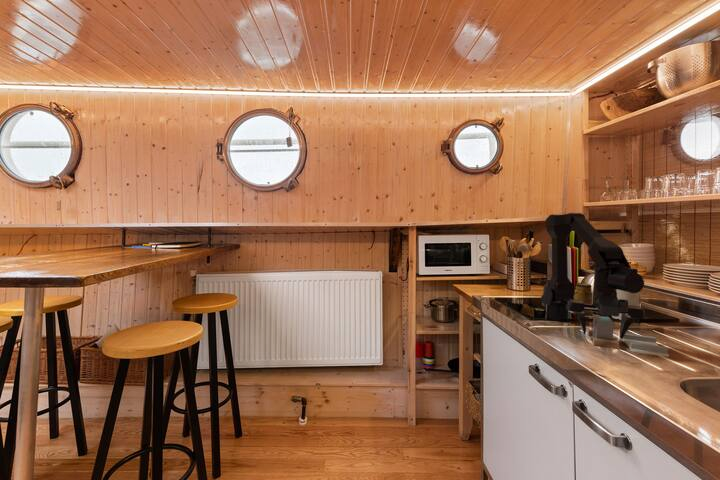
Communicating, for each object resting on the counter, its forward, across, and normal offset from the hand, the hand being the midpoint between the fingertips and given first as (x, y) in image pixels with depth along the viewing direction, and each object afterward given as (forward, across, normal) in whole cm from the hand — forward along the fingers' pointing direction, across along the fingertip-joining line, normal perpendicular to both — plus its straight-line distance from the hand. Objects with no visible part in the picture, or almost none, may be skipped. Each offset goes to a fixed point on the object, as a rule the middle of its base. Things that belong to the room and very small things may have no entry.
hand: (602, 336), depth 103 cm
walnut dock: (+2, 0, 0) cm, 2 cm away
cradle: (+2, +10, 0) cm, 10 cm away
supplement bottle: (+2, -11, +42) cm, 43 cm away
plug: (+2, 0, 0) cm, 2 cm away
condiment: (+2, 0, +35) cm, 35 cm away
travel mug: (+2, +13, +34) cm, 36 cm away
